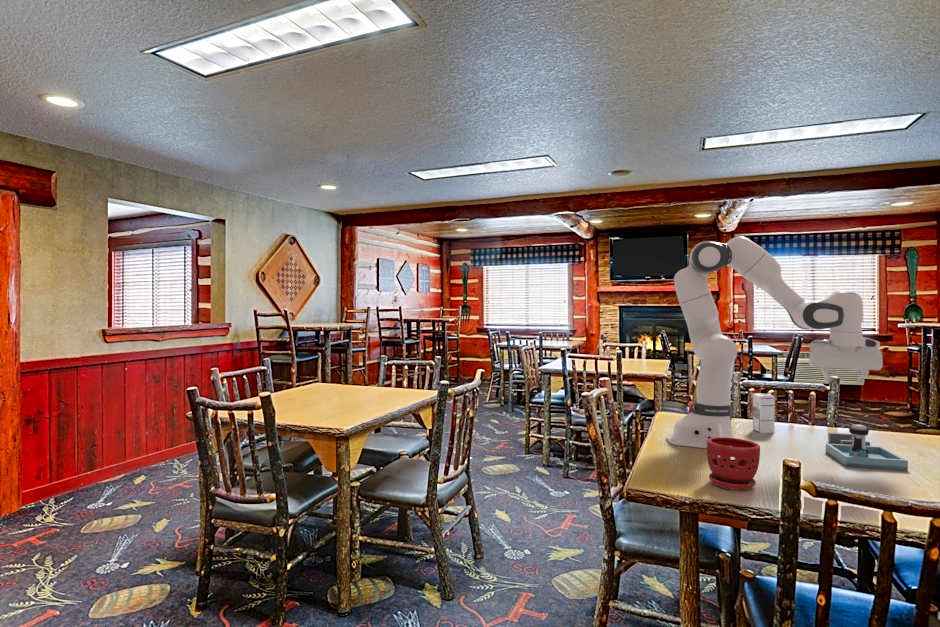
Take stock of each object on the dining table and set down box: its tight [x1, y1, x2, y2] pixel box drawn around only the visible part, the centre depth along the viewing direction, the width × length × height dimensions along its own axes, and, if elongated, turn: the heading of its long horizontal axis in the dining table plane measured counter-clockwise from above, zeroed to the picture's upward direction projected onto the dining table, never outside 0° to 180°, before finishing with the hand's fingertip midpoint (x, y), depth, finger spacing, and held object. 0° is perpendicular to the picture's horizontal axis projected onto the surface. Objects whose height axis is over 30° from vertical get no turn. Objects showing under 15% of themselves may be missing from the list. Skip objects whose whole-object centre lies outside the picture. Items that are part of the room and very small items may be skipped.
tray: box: [825, 443, 909, 471], centre depth 169 cm, size 16×16×3 cm
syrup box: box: [752, 392, 775, 434], centre depth 208 cm, size 6×6×14 cm
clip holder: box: [827, 432, 871, 446], centre depth 185 cm, size 8×12×4 cm, turn 165°
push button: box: [848, 423, 873, 457], centre depth 170 cm, size 7×5×10 cm
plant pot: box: [706, 437, 761, 491], centre depth 148 cm, size 13×13×12 cm
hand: (844, 382), depth 178 cm, fingers open, 8 cm apart
